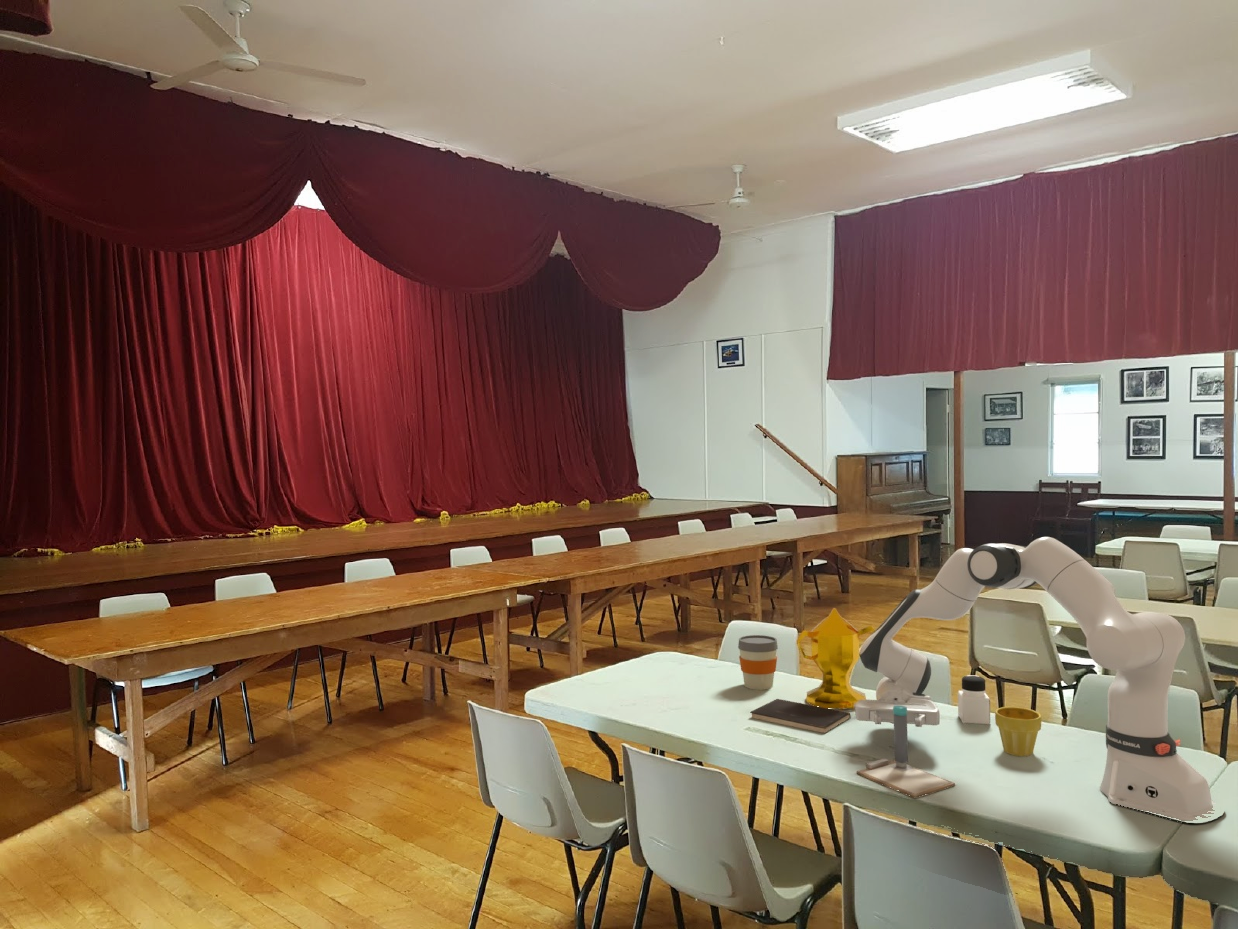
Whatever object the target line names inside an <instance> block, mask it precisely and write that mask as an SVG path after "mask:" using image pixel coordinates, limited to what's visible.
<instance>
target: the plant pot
mask: <svg viewBox="0 0 1238 929" xmlns="http://www.w3.org/2000/svg"><path fill="white" fill-rule="evenodd" d="M994 716H995V717H994V718H995V719H994V720H995V725H996V726H997V727H998V731H999V735H1000V740H1001V744H1002V749H1003V751H1004V752H1005V753H1006V754H1008V755H1011V756H1015V757H1029V756H1031V755H1033V754H1034V750H1035V745H1036V741H1037V737H1038V733H1039V732H1040V730H1042V714H1041V713H1040V712H1038V711H1035V710H1033V709H1030V708H1027V707H1020V706H1019V707H1018V706H1002V707H999V708H997V709H995V714H994Z"/></svg>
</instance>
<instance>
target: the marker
mask: <svg viewBox="0 0 1238 929" xmlns="http://www.w3.org/2000/svg"><path fill="white" fill-rule="evenodd" d="M893 714H894V724H893V742H894V744H893V746H894V748H893V749H894V760H895V761H896V767H897V768H902V769H904V768H907V765H908V762H909V751H908V750H909V749H908V748H909V746H908V744H909V743H908V724H907V707H905V706H894V707H893Z"/></svg>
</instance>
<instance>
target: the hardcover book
mask: <svg viewBox="0 0 1238 929" xmlns="http://www.w3.org/2000/svg"><path fill="white" fill-rule="evenodd" d="M749 713H750V714H751V719H755V720H761V721H765V722H771V723H775V724H780V725H785V726H789V727H794V728H798V729H802V730H803V729H804V730H807V729H808V730H809V731H812V730H813V732H818V733H821V732H824V733H823V734H826V733H827V732H830V731H831V730H833V729H834V728H836V727H838V726H839V725H841V724H842V723H841V722H843V723H844V722H846V721H847V720H846V719H848V718H850V719H851V716H852V715H851V712H848V711H843V710H839V709H828V708H823V707H817V706H813V705H811V704H808V703H807V704H806V703H801V702H797V701H796V702H795V701H791V700H786V699H780V698H776V699H773V700H772V701H770V702H768V703H765V704H764V705H762V706H759V707H758V708H755V709H753V710H751V711H750V712H749ZM845 720H846V721H845ZM848 720H849V719H848ZM840 723H841V724H840ZM838 724H839V725H838ZM837 725H838V726H837ZM835 726H836V727H835ZM833 727H834V728H833ZM832 728H833V729H832ZM830 729H831V730H830ZM808 730H807V731H808ZM825 732H826V733H825Z"/></svg>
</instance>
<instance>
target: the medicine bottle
mask: <svg viewBox="0 0 1238 929" xmlns="http://www.w3.org/2000/svg"><path fill="white" fill-rule="evenodd" d="M957 714H958V717H959V719H960V720H961V722H962V723H963V724H974V725H975V724H976V725H977V724H978V725H990V724H991V699H990V697H989V696H988V694H987V693H986V679H985V678H984V677H982V676H979V675H971V674H970V675H969V674H968V675H965V676H963V677H962V678H961V690H958V691H957Z"/></svg>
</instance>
